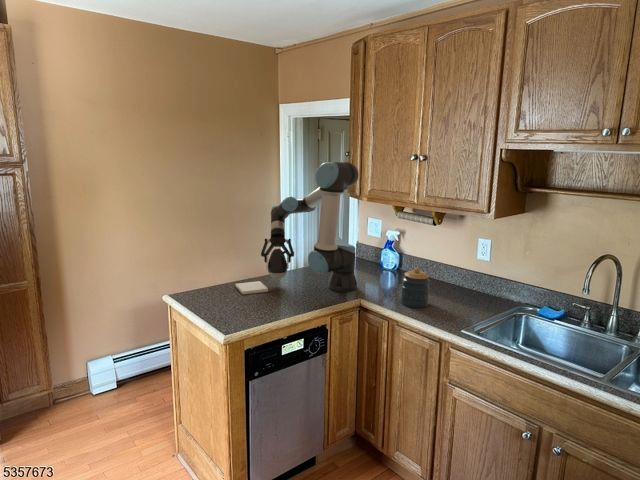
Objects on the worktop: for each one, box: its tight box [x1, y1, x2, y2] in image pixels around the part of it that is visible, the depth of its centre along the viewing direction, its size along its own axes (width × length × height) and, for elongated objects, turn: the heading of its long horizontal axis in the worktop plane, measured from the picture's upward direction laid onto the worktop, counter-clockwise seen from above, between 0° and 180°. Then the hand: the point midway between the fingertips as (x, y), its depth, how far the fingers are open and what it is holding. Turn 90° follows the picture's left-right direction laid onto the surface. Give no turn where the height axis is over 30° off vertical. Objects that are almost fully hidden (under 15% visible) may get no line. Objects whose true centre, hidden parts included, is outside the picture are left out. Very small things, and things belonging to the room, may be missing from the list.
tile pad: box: [235, 280, 269, 295], centre depth 223 cm, size 13×13×2 cm
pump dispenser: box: [267, 247, 289, 280], centre depth 227 cm, size 10×10×15 cm
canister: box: [400, 267, 431, 309], centre depth 209 cm, size 13×13×18 cm
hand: (277, 267), depth 224 cm, fingers closed on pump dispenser, 10 cm apart
